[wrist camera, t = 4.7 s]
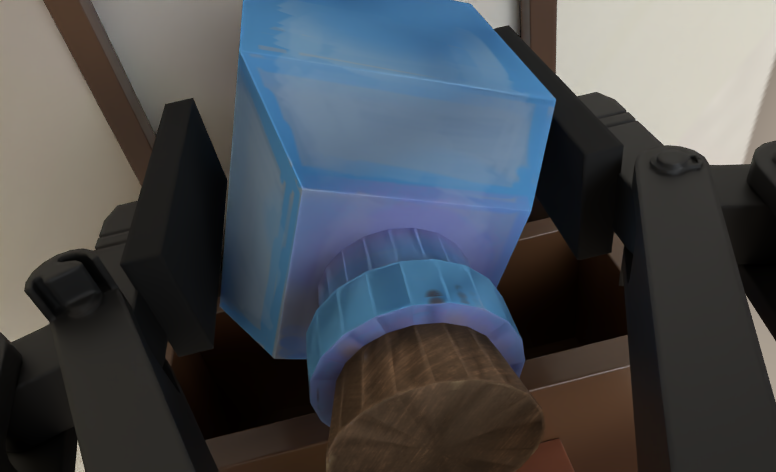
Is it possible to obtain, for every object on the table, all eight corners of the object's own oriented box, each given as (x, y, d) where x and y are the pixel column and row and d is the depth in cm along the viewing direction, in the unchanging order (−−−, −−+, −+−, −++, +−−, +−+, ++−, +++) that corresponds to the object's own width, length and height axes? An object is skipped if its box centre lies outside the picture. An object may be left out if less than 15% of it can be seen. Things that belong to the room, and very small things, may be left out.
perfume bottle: (415, 186, 20) (548, 541, 11) (230, 167, 18) (200, 567, 9) (470, 3, 16) (738, 303, 7) (246, -41, 15) (221, 276, 6)
